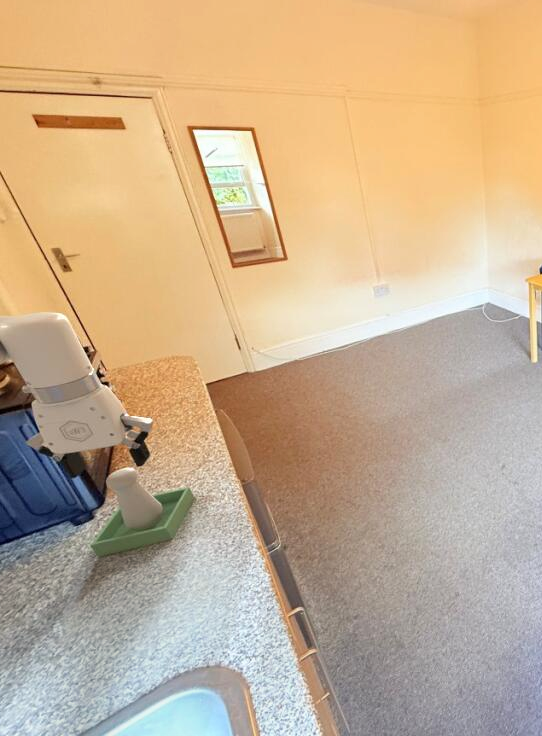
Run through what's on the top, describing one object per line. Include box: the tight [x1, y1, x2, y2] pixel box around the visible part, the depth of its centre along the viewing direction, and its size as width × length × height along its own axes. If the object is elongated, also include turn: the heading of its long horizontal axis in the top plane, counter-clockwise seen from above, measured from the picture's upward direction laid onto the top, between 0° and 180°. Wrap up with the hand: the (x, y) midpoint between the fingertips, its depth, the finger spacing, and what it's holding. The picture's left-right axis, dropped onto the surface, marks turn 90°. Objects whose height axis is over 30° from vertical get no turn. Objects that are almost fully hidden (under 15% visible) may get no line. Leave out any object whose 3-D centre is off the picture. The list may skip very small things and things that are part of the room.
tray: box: [89, 486, 196, 558], centre depth 79 cm, size 12×11×3 cm
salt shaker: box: [105, 467, 163, 531], centre depth 76 cm, size 6×6×13 cm
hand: (112, 467), depth 73 cm, fingers open, 9 cm apart
